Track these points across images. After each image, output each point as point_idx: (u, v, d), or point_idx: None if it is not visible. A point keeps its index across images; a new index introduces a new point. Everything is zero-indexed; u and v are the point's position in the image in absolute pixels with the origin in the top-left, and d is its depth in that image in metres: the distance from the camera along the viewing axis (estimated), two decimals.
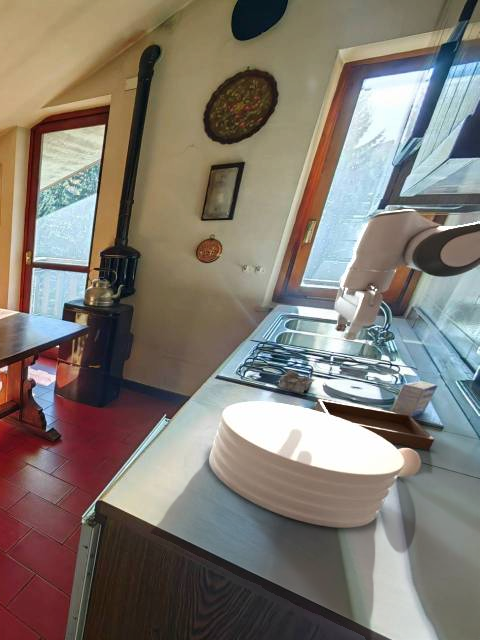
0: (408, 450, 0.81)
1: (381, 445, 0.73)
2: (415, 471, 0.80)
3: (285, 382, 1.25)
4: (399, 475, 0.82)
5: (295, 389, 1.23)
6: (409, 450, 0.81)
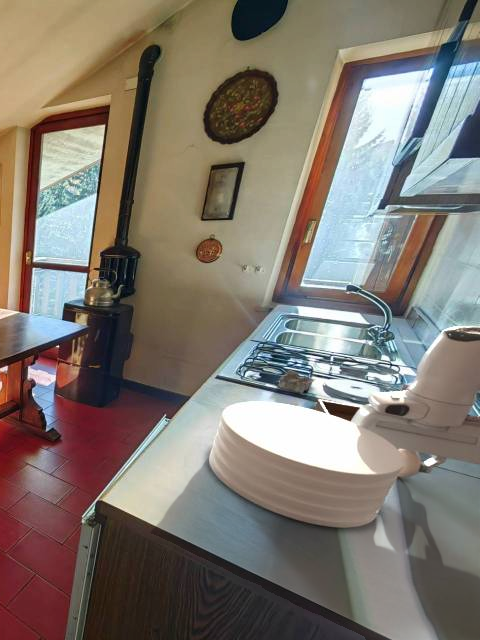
0: (408, 450, 0.81)
1: (381, 445, 0.73)
2: (415, 471, 0.80)
3: (285, 382, 1.25)
4: (399, 475, 0.82)
5: (295, 389, 1.23)
6: (409, 450, 0.81)
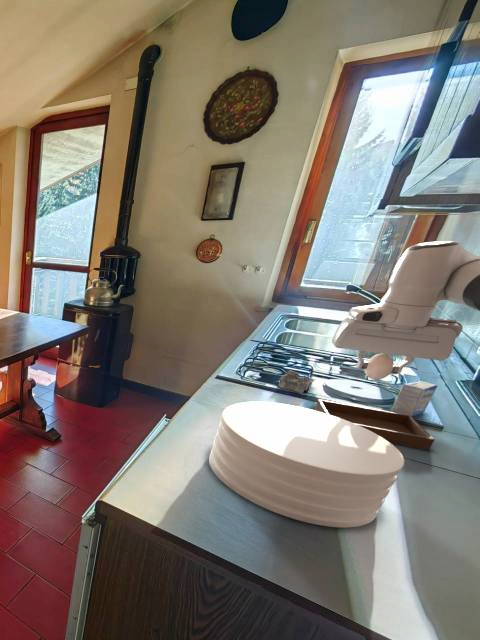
0: (383, 354, 0.94)
1: (381, 445, 0.73)
2: (389, 371, 0.94)
3: (285, 382, 1.25)
4: (375, 377, 0.95)
5: (295, 389, 1.23)
6: (384, 354, 0.94)
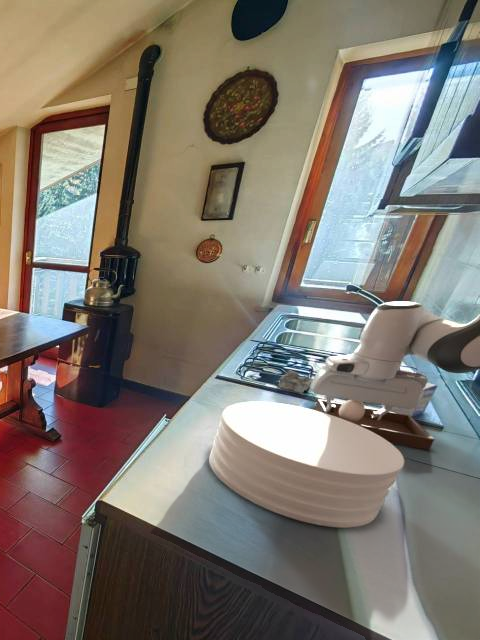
0: None
1: (381, 445, 0.73)
2: (360, 416, 1.01)
3: (285, 382, 1.25)
4: (348, 420, 1.03)
5: (295, 389, 1.23)
6: None
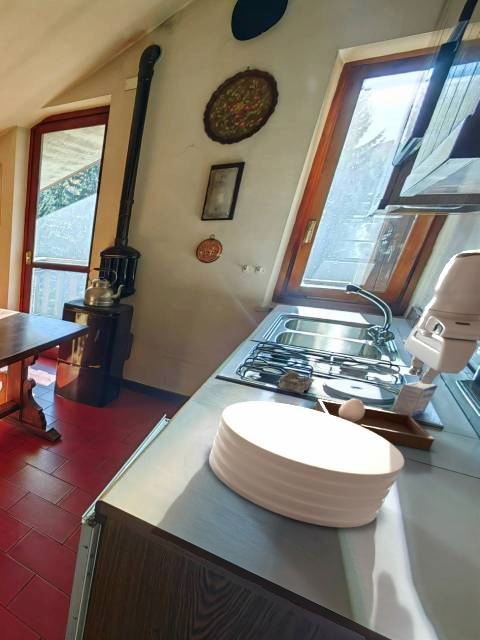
0: (355, 400, 1.02)
1: (381, 445, 0.73)
2: (360, 416, 1.01)
3: (285, 382, 1.25)
4: (348, 420, 1.03)
5: (295, 389, 1.23)
6: (356, 400, 1.02)
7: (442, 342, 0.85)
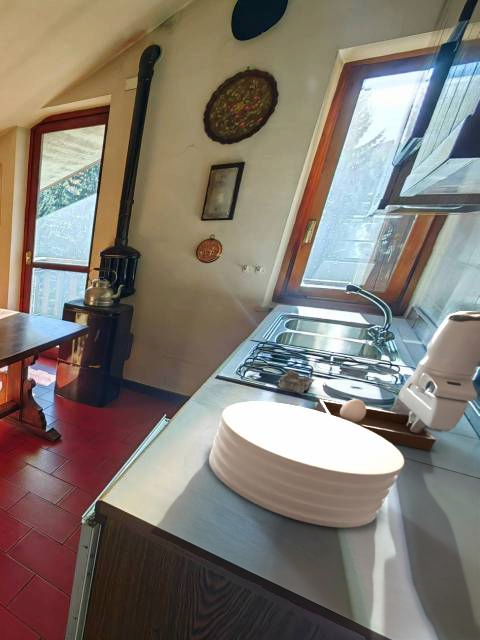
0: (356, 400, 1.02)
1: (381, 445, 0.73)
2: (361, 417, 1.01)
3: (285, 382, 1.25)
4: (350, 421, 1.03)
5: (295, 389, 1.23)
6: (357, 400, 1.02)
7: (434, 400, 0.89)
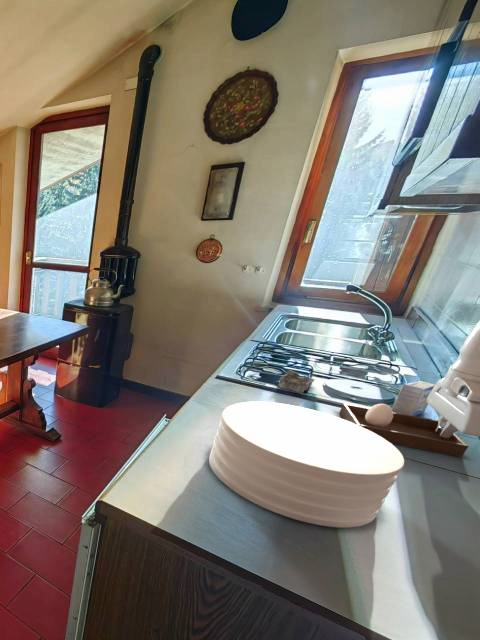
0: (383, 405, 0.99)
1: (381, 445, 0.73)
2: (388, 421, 0.99)
3: (285, 382, 1.25)
4: (376, 426, 1.00)
5: (295, 389, 1.23)
6: (383, 405, 0.99)
7: (468, 405, 0.86)
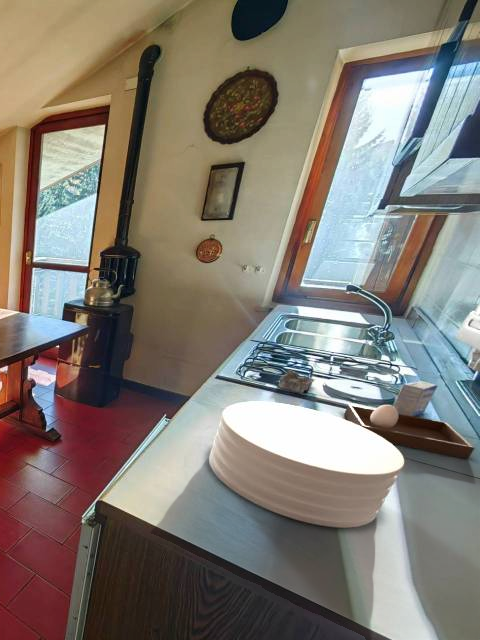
0: (388, 406, 0.99)
1: (381, 445, 0.73)
2: (393, 423, 0.98)
3: (285, 382, 1.25)
4: (381, 427, 1.00)
5: (295, 389, 1.23)
6: (389, 406, 0.99)
7: None
